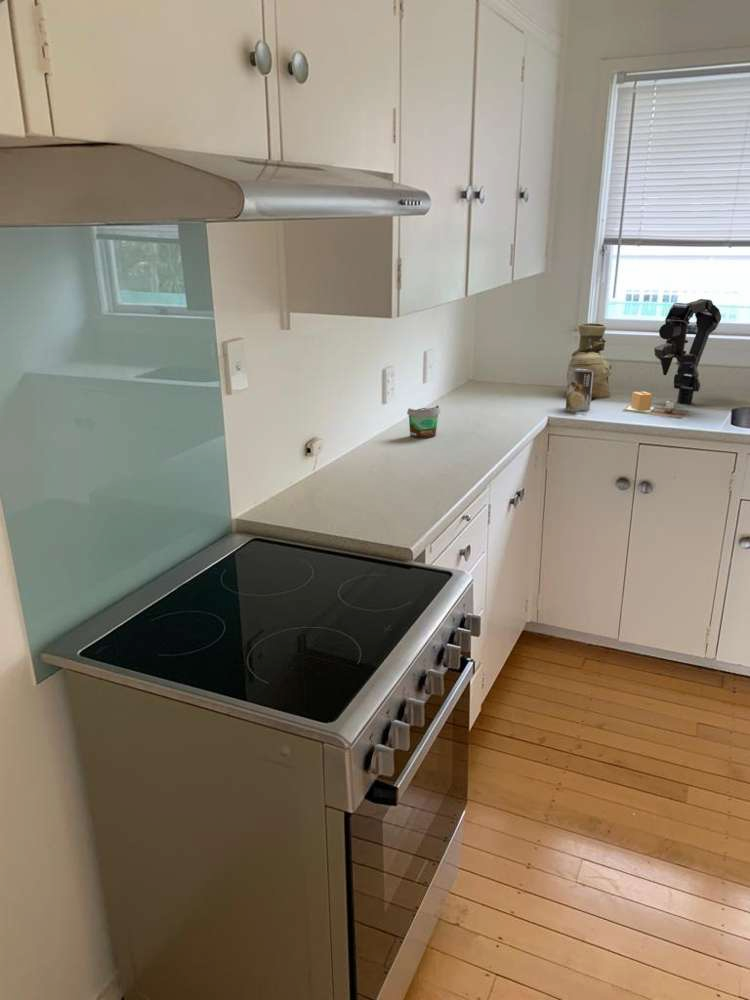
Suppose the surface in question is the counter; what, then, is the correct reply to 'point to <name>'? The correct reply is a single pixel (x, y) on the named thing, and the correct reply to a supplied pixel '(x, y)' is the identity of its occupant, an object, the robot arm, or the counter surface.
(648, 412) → the pad
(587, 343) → the ceramic vessel
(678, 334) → the robot arm
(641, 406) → the box
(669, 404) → the clear cylinder
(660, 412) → the board
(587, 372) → the coffee box
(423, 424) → the food container
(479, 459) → the counter surface
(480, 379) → the counter surface
